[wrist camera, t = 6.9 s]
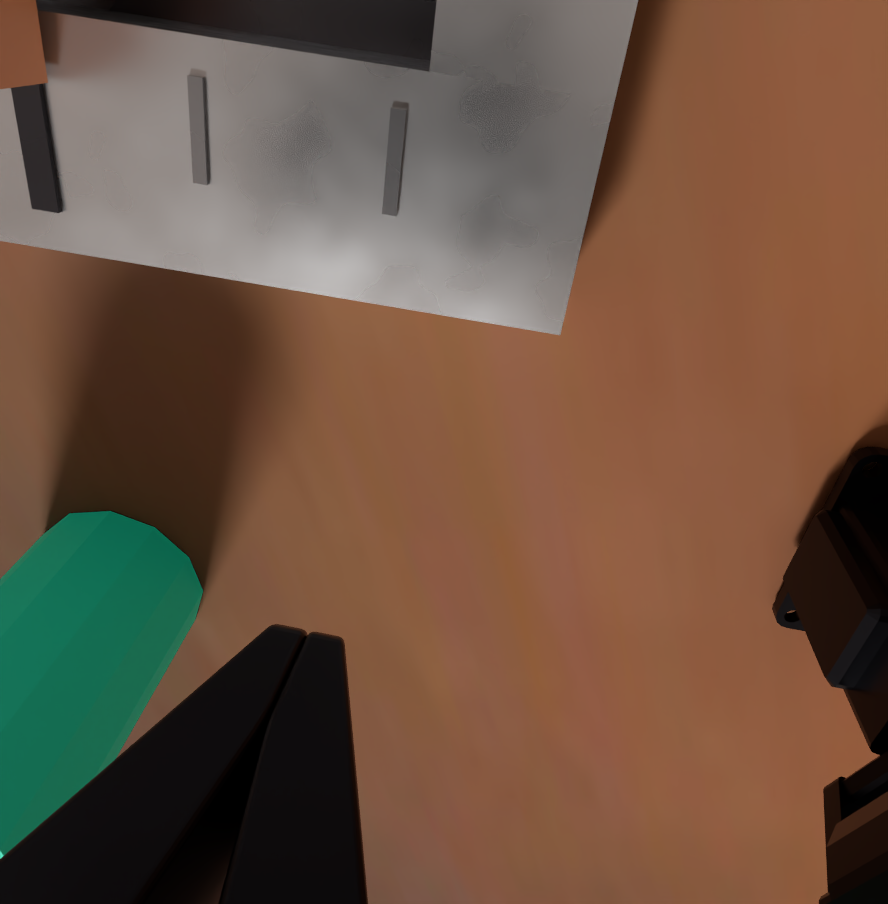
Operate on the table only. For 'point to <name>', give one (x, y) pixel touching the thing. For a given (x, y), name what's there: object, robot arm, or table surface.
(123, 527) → the candle
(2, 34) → the fader orange
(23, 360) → the table surface
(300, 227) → the grey slider board
